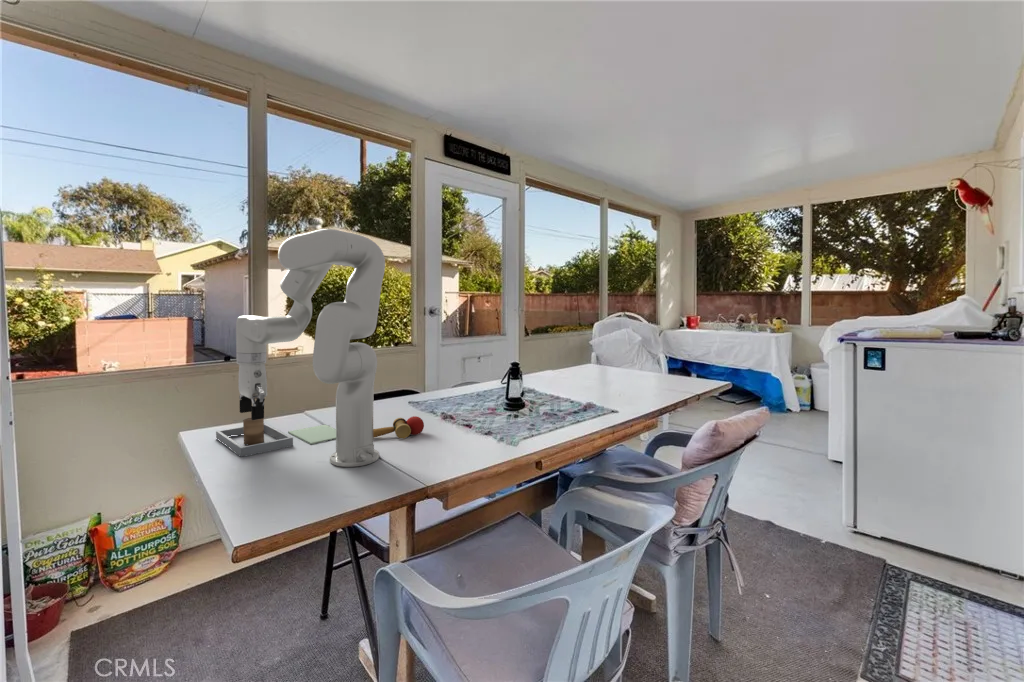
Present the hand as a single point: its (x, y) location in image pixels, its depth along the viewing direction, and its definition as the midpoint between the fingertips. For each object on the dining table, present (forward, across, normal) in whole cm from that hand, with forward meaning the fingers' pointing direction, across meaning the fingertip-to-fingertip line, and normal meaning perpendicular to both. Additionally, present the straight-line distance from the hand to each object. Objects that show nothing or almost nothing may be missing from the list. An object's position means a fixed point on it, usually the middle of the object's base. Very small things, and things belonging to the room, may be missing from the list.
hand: (251, 415), depth 132 cm
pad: (+8, -6, -17) cm, 20 cm away
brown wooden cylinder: (+8, -1, 0) cm, 8 cm away
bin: (+8, -1, 0) cm, 8 cm away
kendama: (+7, -24, -34) cm, 42 cm away
